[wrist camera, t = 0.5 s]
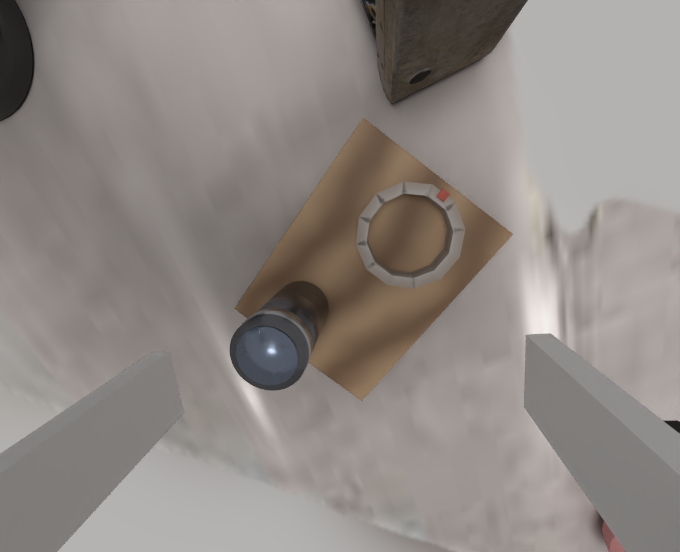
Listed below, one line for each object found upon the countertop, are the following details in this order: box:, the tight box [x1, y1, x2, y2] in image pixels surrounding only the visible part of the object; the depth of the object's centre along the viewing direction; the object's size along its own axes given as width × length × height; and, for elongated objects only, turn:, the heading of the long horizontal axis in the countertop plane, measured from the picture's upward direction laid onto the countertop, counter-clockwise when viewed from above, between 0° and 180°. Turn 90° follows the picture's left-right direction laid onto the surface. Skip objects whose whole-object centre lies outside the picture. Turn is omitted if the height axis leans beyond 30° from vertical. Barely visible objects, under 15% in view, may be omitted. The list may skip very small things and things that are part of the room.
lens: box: [230, 281, 329, 390], centre depth 29 cm, size 6×6×11 cm
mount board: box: [235, 118, 513, 401], centre depth 32 cm, size 18×24×4 cm
